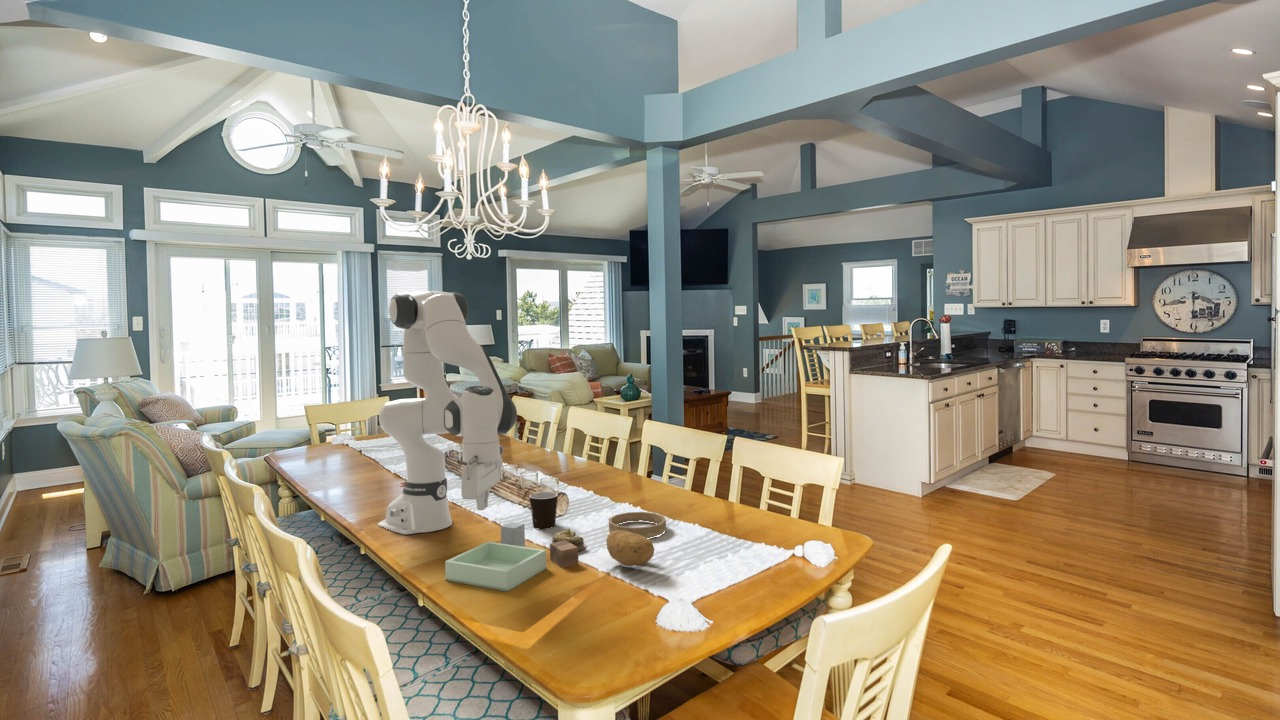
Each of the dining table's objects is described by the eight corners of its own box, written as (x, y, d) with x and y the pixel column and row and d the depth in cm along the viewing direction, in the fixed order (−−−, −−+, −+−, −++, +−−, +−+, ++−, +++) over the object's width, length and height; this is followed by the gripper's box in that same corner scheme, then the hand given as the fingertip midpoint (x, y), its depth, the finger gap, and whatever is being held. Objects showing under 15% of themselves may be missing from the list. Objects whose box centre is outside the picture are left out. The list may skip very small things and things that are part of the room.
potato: (638, 577, 153) (637, 543, 153) (597, 563, 162) (597, 532, 162) (664, 565, 160) (664, 534, 160) (624, 553, 170) (624, 523, 169)
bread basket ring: (599, 536, 185) (598, 524, 185) (624, 520, 200) (624, 509, 200) (651, 543, 178) (651, 530, 178) (673, 526, 193) (673, 515, 193)
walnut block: (549, 543, 165) (561, 550, 160) (565, 540, 168) (578, 547, 162) (550, 560, 166) (562, 568, 160) (565, 557, 168) (578, 564, 162)
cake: (560, 557, 168) (559, 536, 168) (543, 547, 177) (543, 527, 177) (593, 549, 174) (592, 530, 174) (575, 540, 182) (575, 521, 182)
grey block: (501, 552, 172) (500, 526, 172) (511, 547, 177) (510, 522, 176) (515, 554, 171) (514, 528, 170) (524, 549, 175) (524, 523, 174)
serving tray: (445, 580, 153) (445, 561, 153) (488, 558, 167) (488, 541, 167) (507, 591, 145) (506, 571, 145) (546, 568, 160) (546, 550, 159)
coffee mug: (553, 533, 189) (552, 499, 188) (525, 531, 190) (524, 498, 190) (565, 521, 200) (564, 490, 200) (539, 520, 202) (538, 489, 201)
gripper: (480, 460, 146) (482, 520, 147) (504, 446, 167) (506, 498, 167) (453, 460, 147) (455, 520, 147) (481, 446, 167) (482, 498, 167)
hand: (482, 508), depth 157 cm, fingers closed
